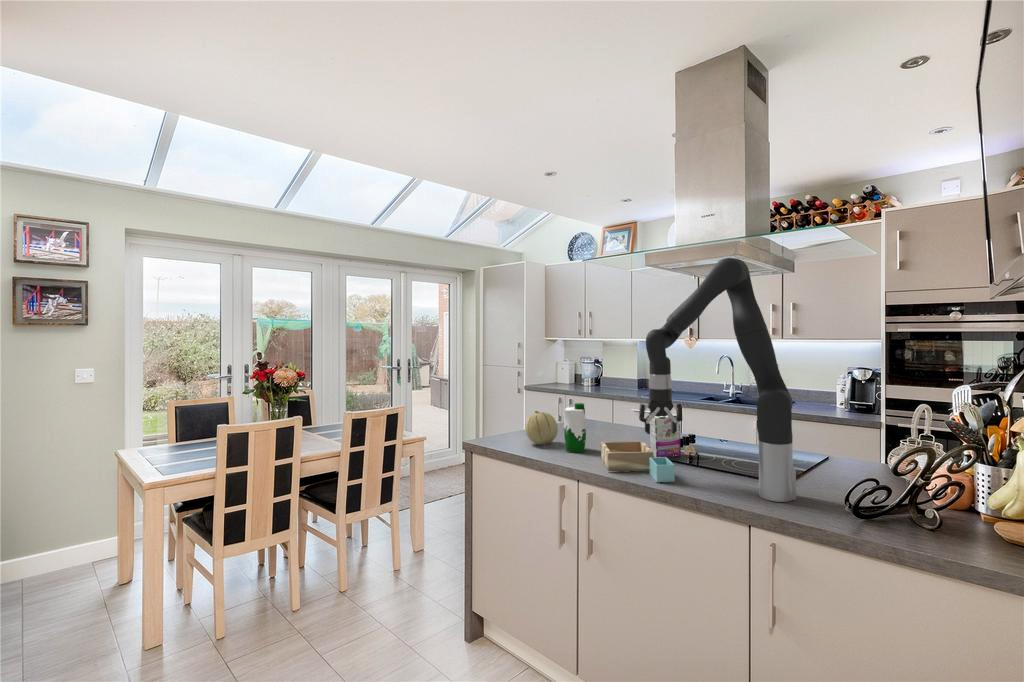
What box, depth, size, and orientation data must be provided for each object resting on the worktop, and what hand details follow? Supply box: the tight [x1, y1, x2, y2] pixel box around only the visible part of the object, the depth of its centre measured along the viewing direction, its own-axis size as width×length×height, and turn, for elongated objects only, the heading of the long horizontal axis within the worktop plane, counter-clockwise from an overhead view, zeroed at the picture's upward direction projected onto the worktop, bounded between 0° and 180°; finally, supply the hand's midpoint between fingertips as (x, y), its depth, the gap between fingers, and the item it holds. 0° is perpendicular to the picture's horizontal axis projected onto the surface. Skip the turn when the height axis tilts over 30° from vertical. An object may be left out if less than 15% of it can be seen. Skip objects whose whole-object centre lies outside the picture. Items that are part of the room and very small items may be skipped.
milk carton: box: [563, 402, 587, 453], centre depth 220 cm, size 9×9×20 cm
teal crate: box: [649, 457, 676, 483], centre depth 179 cm, size 10×6×6 cm, turn 178°
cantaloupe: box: [525, 410, 559, 445], centre depth 233 cm, size 15×15×15 cm
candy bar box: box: [649, 413, 682, 457], centre depth 207 cm, size 11×5×16 cm, turn 105°
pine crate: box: [600, 440, 653, 472], centre depth 196 cm, size 17×16×7 cm
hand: (660, 433), depth 178 cm, fingers open, 8 cm apart
